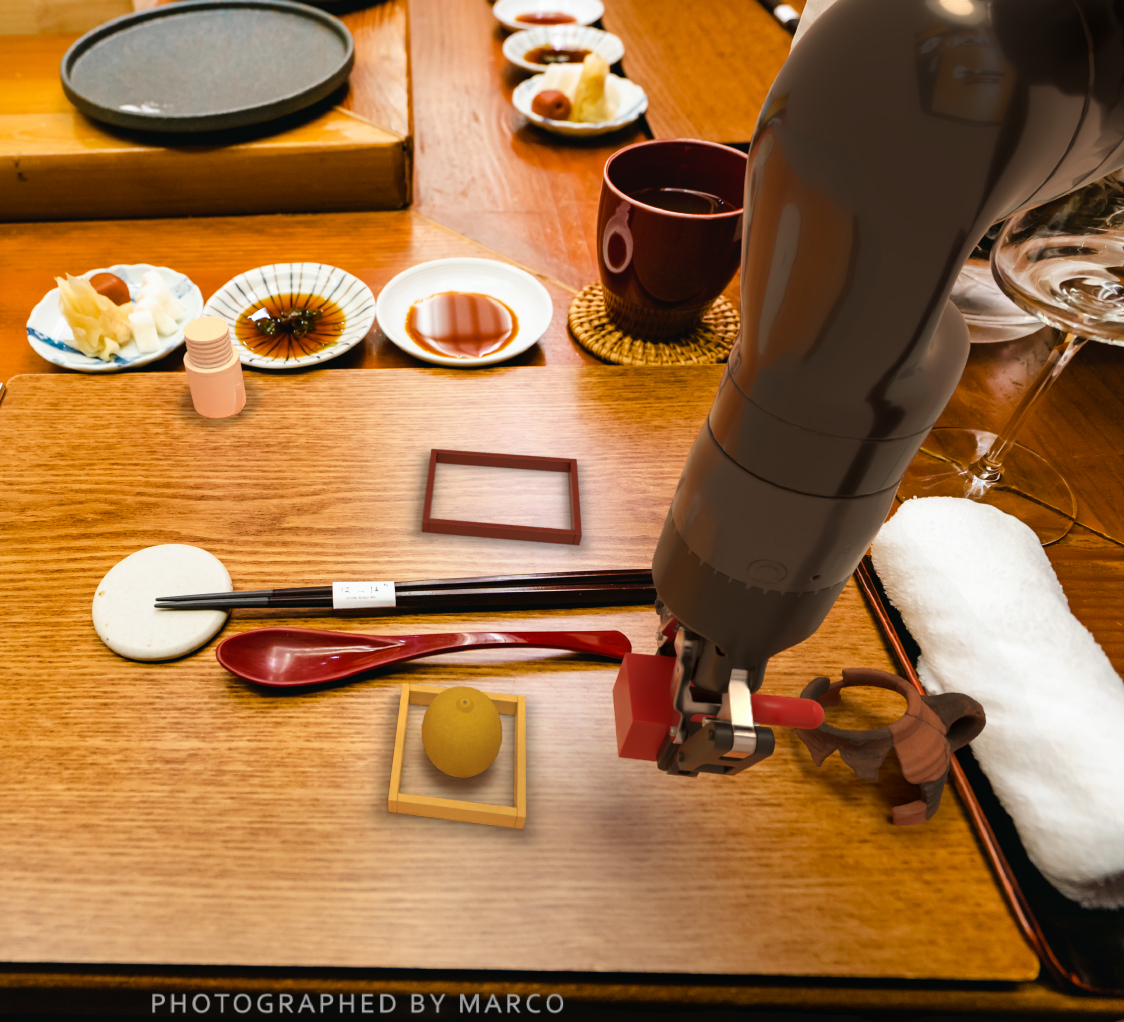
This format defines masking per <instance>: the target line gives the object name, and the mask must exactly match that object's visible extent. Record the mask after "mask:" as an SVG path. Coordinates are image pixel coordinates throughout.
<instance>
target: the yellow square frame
mask: <svg viewBox="0 0 1124 1022" xmlns="http://www.w3.org/2000/svg"><path fill="white" fill-rule="evenodd" d="M448 688H449V687H442V686H435V685H424V684H416V683H406V682H402V684H401V691H400V698H399V706H398V707H399V708H398V715H397V722H396V723H397V724H396V731H395V740H394V749H393V757H392V766H391V772H390V773H391V774H390V782H389V788H388V789H389V790H388V799H387V812H389V813H396V814H404V815H409V816H410V815H411V816H418V817H426V818H435V819H442V820H450V821H457V822H458V821H459V822H465V823H471V824H472V823H473V824H481V825H489V826H495V827H496V826H497V827H504V828H512V829H513V828H514V829H518V830H519V829H520V830H523V829H524V826H525V822H526V819H527V696H525V695H516V694H508V693H498V692H489V691H481V692H482V693H484V694H485V695H487V696H488V697H489V698H490V699H491V700H492V702H493V703H494V705H495V706H496V708H497V710H498V712H499V715H509V716H510V715H511V716H514V774H513V776H514V777H513V778H514V781H513V782H514V786H513V789H514V790H513V792H514V793H513V806H505V805H497V804H488V803H480V802H475V801H474V802H473V801H465V800H457V799H449V798H441V797H433V796H425V795H418V794H410V793H402V792H400V788H401V780H402V770H403V763H404V753H405V744H406V735H407V725H408V717H409V709H410V705H421V706H427V707H429V705H430V703H431V702H432V700H433V699H434V698H435V697H436V696H437V695H438V694H439V693H441V692H443V691H444V690H446V689H448Z"/></svg>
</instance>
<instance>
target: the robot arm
mask: <svg viewBox="0 0 1124 1022" xmlns="http://www.w3.org/2000/svg"><path fill="white" fill-rule="evenodd" d="M749 143H750V144H749V147H748V153H747V156H746V157H747V159H746V165H745V176H744V188H743V203H742V204H743V206H742V227H741V246H740V247H741V248H740V249H741V250H740V266H739V267H740V269H739V330H738V332H737V334H736V337H735V339H734V341H733V343H732V347H731V349H730V351H729V355H728V358H727V361H726V364H725V367H724V369H723V372H722V375H721V378H720V381H719V384H718V388H717V390H716V392H715V395H714V397H713V401H712V404H711V407H710V409H709V413H708V414H707V417H706V419H705V421H704V423H703V424H702V426H701V428H700V430H699V432H698V434H697V435H696V436H695V438H694V441H693V442H692V444H691V447H690V449H689V451H688V454H687V457H686V459H685V462H684V465H683V468H682V471H681V473H680V477H679V479H678V481H677V482H678V483H677V485H676V488H675V491H674V494H673V497H672V500H671V502H670V506H669V509H668V512H667V515H666V518H665V521H664V524H663V527H662V530H661V533H660V536H659V539H658V541H657V544H656V547H655V550H654V553H653V556H652V561H651V578H652V581H653V585H654V588H655V591H656V593H657V595H656V599H655V600H654V609H655V613H656V615H657V616H659V625H658V627H657V631H656V632H655V641H656V644H657V650H656V653H655V654H654V655H658V656H669V657H677V658H676V662H675V666H674V670H673V674H672V678H671V682H670V686H669V693H670V696H671V700H672V703H673V707H674V713H673V717H672V721H671V725H670V726H669V729H668V731H667V733H666V735H665V738H664V740H663V742H662V744H661V746H660V748H659V750H658V753H657V755H656V760H657V762H656V767H657V769H658V770H659V771H662V772H666V775H669V776H677V777H684V778H685V777H686V778H697V777H698V776H699V774H700V773H703V774H704V773H706V774H712V775H721V776H722V775H723V776H730V777H731V776H732V777H735V776H736V775H738V774H740V773H741V772H744V771H745V770H747V769H749V768H751V767H753V766H754V765H756V764H758V763H760V762H762V761H764V760H765V759H767V758H770V757H772V755H773V754H774V751H775V747H776V737H775V733H774V730H773V729H772V727H770V726H761V724H759V723H758V722H753V714H752V705H751V696H752V694H754V693H756V694H757V692H759V690H760V689H761V687H762V686H763V683H764V679H765V675H766V669H767V666H768V663H769V660H770V658H771V659H772V658H773V657H774V656H776V655H778V654H780V653H782V652H783V651H787V650H788V649H790V648H792V647H795V646H797V645H800V644H801V643H803V642H804V641H806V640H808V639H809V638H811V636H812V635H814V634H815V633H816V632H817V631H818V630H819V629H820V627H821V626H822V624H823V622H824V621H825V619H826V617H827V616H828V615H829V613H830V611H831V610H832V608H833V607H834V605H835V603H836V602H837V600H838V598H839V597H840V595H841V594H842V592H843V590H844V588H845V587H846V586H847V584H848V582H849V580H850V579H851V577H852V576H853V574H854V573H855V571H856V569H857V568H858V566H859V564H860V563H861V561H862V559H863V558H864V557H865V555H866V553H867V552H868V550H869V548H870V547H871V545H872V544H873V542H874V540H875V539H876V537H877V536H878V534H879V533H880V531H881V529H882V527H883V525H884V524H885V521H886V519H887V517H888V516H889V514H890V511H891V509H892V506H893V504H894V501H895V498H896V495H897V493H898V490H899V487H900V485H901V483H902V481H903V479H904V478H905V475H906V473H907V471H908V469H909V468H910V466H911V464H912V463H913V461H914V459H915V458H916V456H917V454H918V453H919V452H920V450H921V448H922V447H923V445H924V443H925V441H926V440H927V438H928V437H929V435H930V433H931V432H932V430H933V428H935V427H934V426H935V425H936V424H937V423H938V422H937V421H938V420H939V419H940V418H941V416H942V415H943V412H944V411H945V409H946V408H947V405H948V404H949V402H950V401H951V399H952V397H953V396H954V394H955V391H956V390H957V388H958V385H959V384H960V381H961V379H962V377H963V374H964V371H965V368H966V365H967V362H968V359H969V356H970V352H971V333H970V332H971V331H970V329H969V325H968V324H967V321H966V318H965V316H964V314H963V312H961V311H960V309H959V307H958V306H957V305H956V304H955V303H954V302H953V300H952V299H950V297H951V295H952V292H953V289H954V286H955V284H956V282H957V280H958V278H959V276H960V274H961V272H962V270H963V268H964V266H965V264H966V263H967V261H968V259H969V258H970V255H972V253H973V251H974V250H975V249H976V247H977V246H978V244H979V243H980V242H981V240H982V239H983V238H984V236H985V234H987V232H988V231H989V230H990V228H991V227H992V226H993V225H997V224H999V223H1002V222H1003V221H1006V220H1008V219H1011V218H1013V217H1016V216H1019V215H1021V214H1024V213H1026V212H1028V211H1031V210H1033V209H1035V208H1038V207H1041V206H1043V205H1046V204H1049V203H1050V202H1053V201H1055V200H1058V199H1060V198H1062V197H1064V196H1066V195H1069V194H1071V193H1073V192H1075V191H1077V190H1080V189H1082V188H1084V187H1086V186H1088V185H1090V184H1092V183H1094V182H1096V181H1099V180H1100V179H1102V178H1104V177H1106V176H1108V175H1110V174H1112V173H1114V172H1116V171H1118V170H1120V169H1122V168H1124V0H836V1H834V2H833V3H832V4H831V5H830V6H829V7H828V8H827V9H825V11H823V12H822V13H821V14H820V15H819V16H818V17H817V18H816V19H815V20H814V21H813V23H812V24H811V25H810V26H809V27H808V29H806V31H805V32H804V33H803V35H802V36H801V37H800V39H799V40H798V41H797V42H796V44H795V45H794V47H793V48H792V49H791V51H790V52H789V54H788V56H787V58H786V59H785V61H784V63H783V64H782V66H781V68H780V70H779V72H778V74H777V75H776V76H775V78H774V81H773V83H772V84H771V86H770V88H769V89H768V91H767V94H766V96H765V99H764V101H763V103H762V106H761V108H760V110H759V113H758V115H757V118H756V122H755V125H754V128H753V131H752V134H751V138H750V142H749ZM690 682H691V683H692V684H693V685H694V686H690ZM695 686H696V687H695ZM695 714H704V715H713V718H711V717H703V718H702V722H697V721H690V719H691V717H692V716H693V715H695ZM1115 1022H1124V1018H1122V1019H1119V1020H1116V1021H1115Z"/></svg>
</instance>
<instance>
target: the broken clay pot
mask: <svg viewBox="0 0 1124 1022" xmlns="http://www.w3.org/2000/svg"><path fill="white" fill-rule="evenodd" d="M841 677H842V679H841V680H836V681H833V682H831V678H830V677H829V676H817V677H815V678H814V679H812V680H810V681H809V682H808V684H807V685H806V686H805V687H804V688H802V691H801V693H800V694H799V698H805V699H811V700H814V701H816V702H817V703H819V704H820V705H821V707H822V708H823V709H824V708H829V707H835V706H837V705H839V703H840V702H841V701H842V695H841V690H842V689H846V688H852V687H853V688H854V687H873V688H880V689H884V690H889V691H892V692H894V693H897V694H899V695H900V696H902V697H903V699H905V700H906V703H907V706H906V710H905V712H903V713H904V714H903V715H902V716H900V718H899V719H897V720H895V721H894V722H892V723H891V724H888V725H887V726H886V727H881V728H875V729H870V730H869V729H868V730H850V729H843V728H840V727H837V726H833V725H831V724H829V723H827V722H826V721H825V720H824V721H823V723H822V724H821V725H820V726H819V727H817V728H815V729H802V728H794V729H795V733H796V734H795V735H796V736H797V738H798V739H799V740H800V741H802V743H803V744H804V745H805V746H806V748H807V750H808V752H809V754H810V756H811V759H812V761H813V763H814V764H815V766H816V768H821V767H822V765H823V762H825V760H826V759H827V758H828V757H830V756H831V755H833V754H834V752H836V751H837V750H838V752H839V756H840V759H841V760H842V761H843V762H844V763H845V765H847V766H848V767H849V768H850V769H851V770H853V771H854V773H855V775H856V776H857V777H858V778H859V779H860V780H863V781H866V782H870V783H877V782H879V769H880V768H881V767H882V765H883V764H884V762H885V759H886V757H887V755H888V754H889V753H890V752H891V750H892V751H893V752H894V754H895V755H896V757H897V759H898V762H899V766H900V772H901V775H902V777H903V778H904V779H905V780H906V781H907V782H908V783H909V784H911V785H918V784H919V786H918V787H919V788H920V792H921V796H920V798H919V799H917V800H914V801H912V802H908V803H907V804H902V805H898V806H893V807H892V808H891V811H890V812H891V816H892V824H893V825H894V826H916V825H917V826H918V825H920V824H923V823H925V822H926V821H929V820H930V819H931V818H932V817H934V816H935V814H937V811H938V809H939V807H940V805H941V799H942V797H943V796H942V795H943V793H944V788H945V785H946V783H947V777H948V775H949V772H950V767H951V760H952V759H951V758H952V754H953V753H954V752H955V751H957V750H959V749H961V748H963V747H965V746H967V745H968V744H970V743H972V742H973V741H974V740H975V739H976V738H977V737H978V736H979V735H980V734H981V733H982V732H984V729H985V727H986V725H987V717H986V714H987V713H986V712H985V708H984V706H983V705H982V704H981V703H980V702H979V701H977V700H976V699H974V698H973V697H971V696H970V695H968V694H966V693H962V692H956V691H955V692H953V691H952V692H944V693H938V694H932V695H925V694H920V693H919V691H918V690H917V688H916V687H914V685H913V684H912V683H910V682H909V681H908V680H906V679H904V678H903V677H901V676H900V675H899V676H898V675H897V674H895V673H891V672H888V671H885V670H881V669H878V668H870V667H848V668H844V669H843V668H842V670H841Z"/></svg>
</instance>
